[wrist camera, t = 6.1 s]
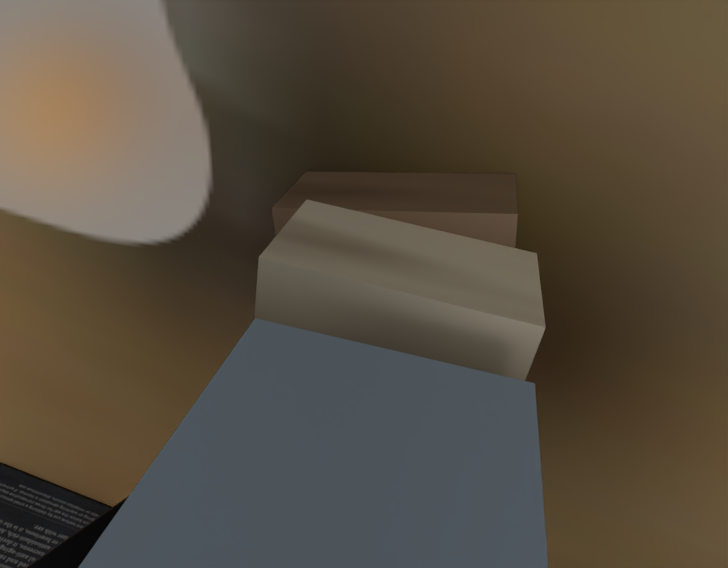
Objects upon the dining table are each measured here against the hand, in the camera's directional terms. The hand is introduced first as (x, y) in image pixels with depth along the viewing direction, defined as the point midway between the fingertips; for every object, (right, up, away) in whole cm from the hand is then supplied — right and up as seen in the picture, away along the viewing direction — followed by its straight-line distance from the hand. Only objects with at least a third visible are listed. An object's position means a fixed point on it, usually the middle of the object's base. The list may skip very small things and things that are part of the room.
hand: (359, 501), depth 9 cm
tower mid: (+1, +3, +5) cm, 6 cm away
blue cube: (0, +1, +1) cm, 1 cm away
